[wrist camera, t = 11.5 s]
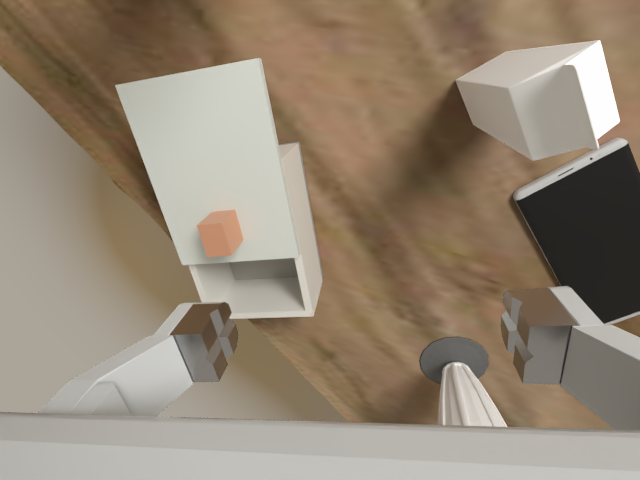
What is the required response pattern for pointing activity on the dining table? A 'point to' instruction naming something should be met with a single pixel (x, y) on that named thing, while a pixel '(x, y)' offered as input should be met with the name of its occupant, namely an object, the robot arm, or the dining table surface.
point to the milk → (543, 98)
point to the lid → (214, 162)
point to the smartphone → (591, 227)
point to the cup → (460, 382)
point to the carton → (271, 263)
